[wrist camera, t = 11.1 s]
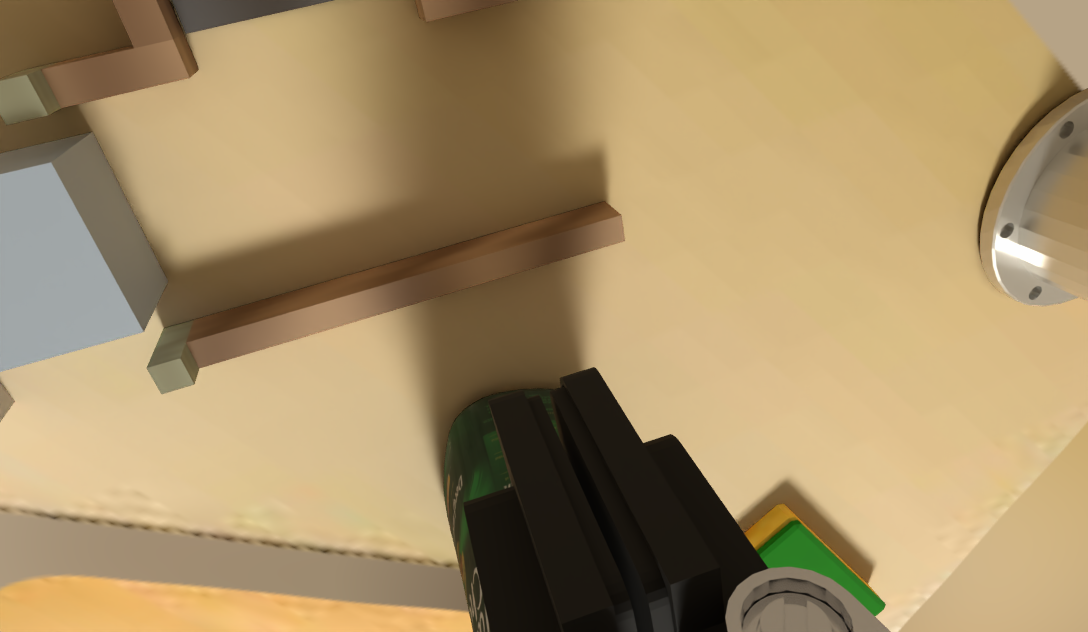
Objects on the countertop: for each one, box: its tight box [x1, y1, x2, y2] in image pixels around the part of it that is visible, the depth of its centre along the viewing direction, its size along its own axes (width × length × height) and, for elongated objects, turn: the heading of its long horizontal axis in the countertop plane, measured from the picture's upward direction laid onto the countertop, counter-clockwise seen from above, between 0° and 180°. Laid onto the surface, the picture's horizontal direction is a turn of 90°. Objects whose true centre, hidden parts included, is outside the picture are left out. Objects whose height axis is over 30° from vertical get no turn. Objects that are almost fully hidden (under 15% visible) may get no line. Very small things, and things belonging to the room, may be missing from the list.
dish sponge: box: [744, 504, 886, 616], centre depth 47 cm, size 7×14×2 cm, turn 40°
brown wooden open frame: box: [0, 0, 625, 394], centre depth 24 cm, size 19×18×3 cm
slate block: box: [0, 132, 168, 372], centre depth 24 cm, size 6×6×4 cm
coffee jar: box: [444, 389, 560, 632], centre depth 28 cm, size 10×8×19 cm
